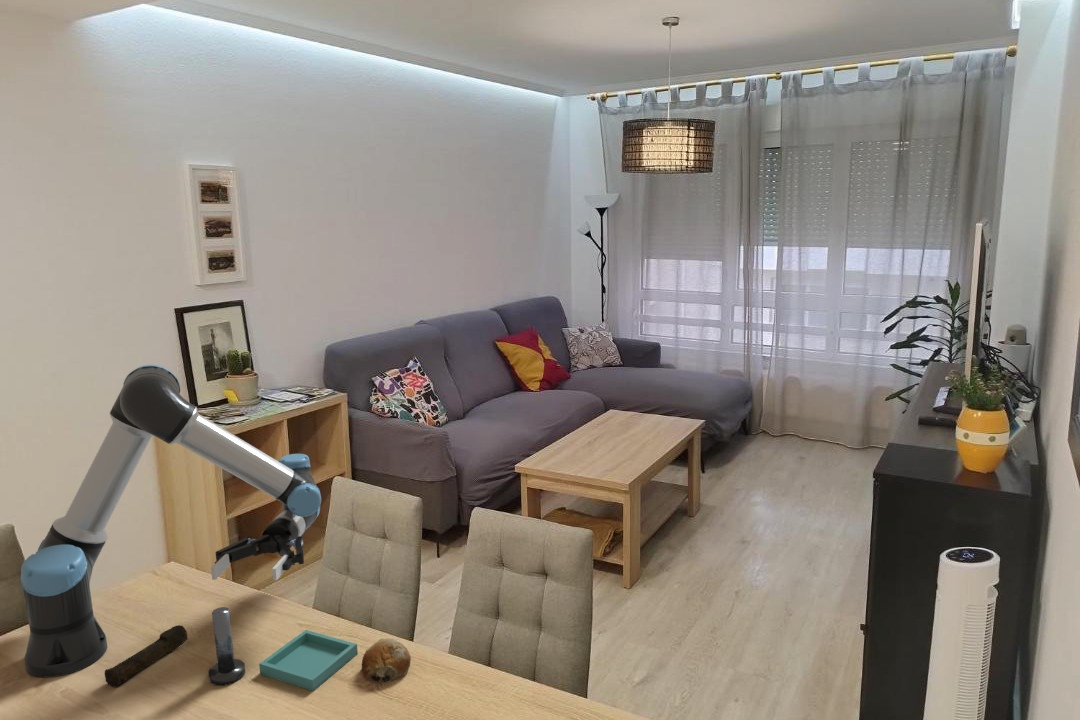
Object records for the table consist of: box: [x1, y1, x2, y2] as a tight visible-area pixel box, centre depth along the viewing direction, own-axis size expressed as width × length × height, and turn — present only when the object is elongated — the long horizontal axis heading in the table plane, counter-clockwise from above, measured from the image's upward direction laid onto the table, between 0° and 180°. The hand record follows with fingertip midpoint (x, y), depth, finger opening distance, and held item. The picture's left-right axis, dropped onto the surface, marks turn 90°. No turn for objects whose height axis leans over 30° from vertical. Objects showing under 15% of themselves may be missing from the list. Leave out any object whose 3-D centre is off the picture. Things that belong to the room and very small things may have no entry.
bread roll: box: [361, 638, 412, 684], centre depth 161 cm, size 10×10×8 cm
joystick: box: [208, 606, 246, 687], centre depth 159 cm, size 7×7×14 cm
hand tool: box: [104, 624, 188, 688], centre depth 165 cm, size 19×4×5 cm, turn 154°
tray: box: [258, 629, 359, 692], centre depth 163 cm, size 14×14×2 cm
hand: (243, 574), depth 166 cm, fingers open, 13 cm apart
